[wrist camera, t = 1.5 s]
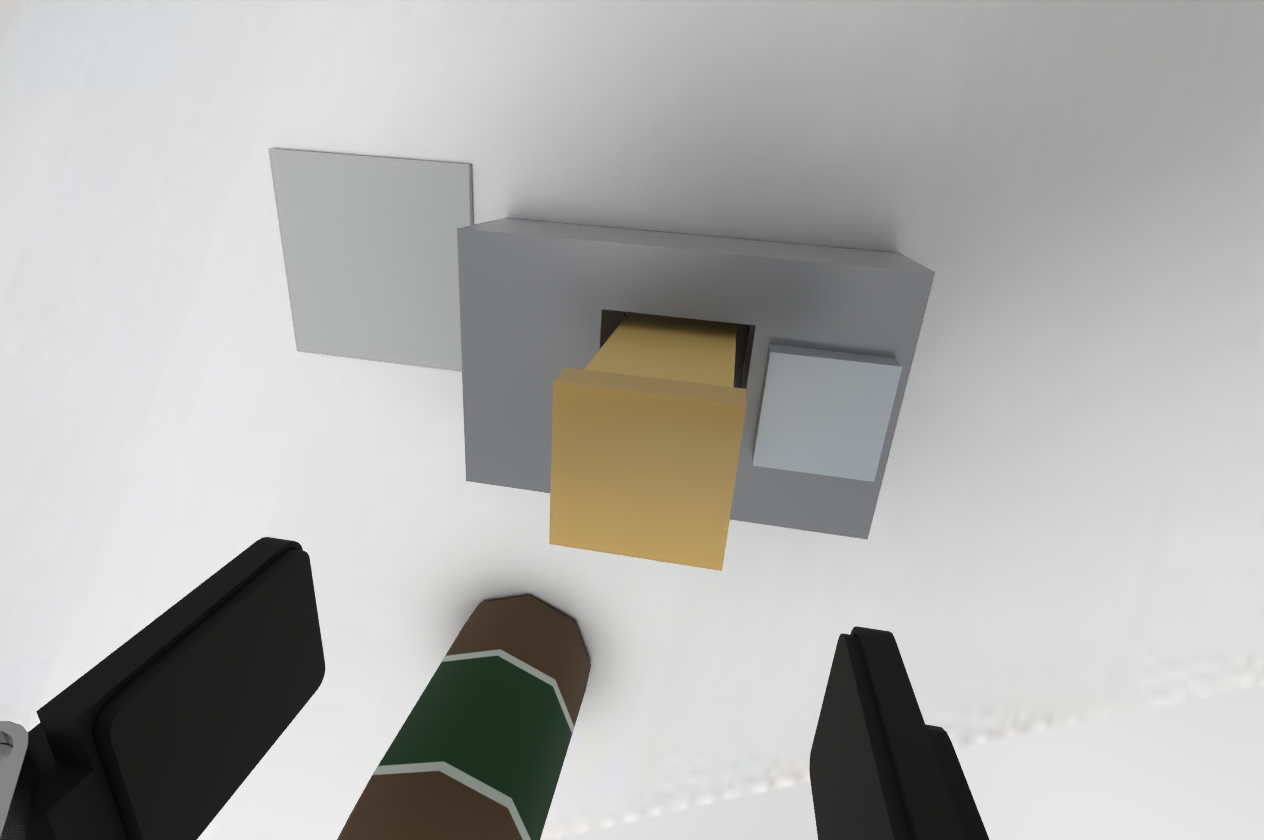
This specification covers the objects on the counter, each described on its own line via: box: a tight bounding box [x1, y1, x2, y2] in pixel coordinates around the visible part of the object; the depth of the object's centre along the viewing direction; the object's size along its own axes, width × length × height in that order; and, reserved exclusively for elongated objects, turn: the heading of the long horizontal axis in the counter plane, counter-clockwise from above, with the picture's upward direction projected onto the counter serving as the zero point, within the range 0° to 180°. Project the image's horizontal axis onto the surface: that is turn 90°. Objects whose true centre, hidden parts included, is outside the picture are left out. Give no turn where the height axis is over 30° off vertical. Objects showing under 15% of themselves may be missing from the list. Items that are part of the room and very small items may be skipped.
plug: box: [549, 312, 747, 571], centre depth 22 cm, size 5×5×12 cm
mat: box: [269, 149, 473, 371], centre depth 28 cm, size 9×9×1 cm
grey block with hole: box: [457, 218, 934, 539], centre depth 25 cm, size 16×10×6 cm, turn 86°
